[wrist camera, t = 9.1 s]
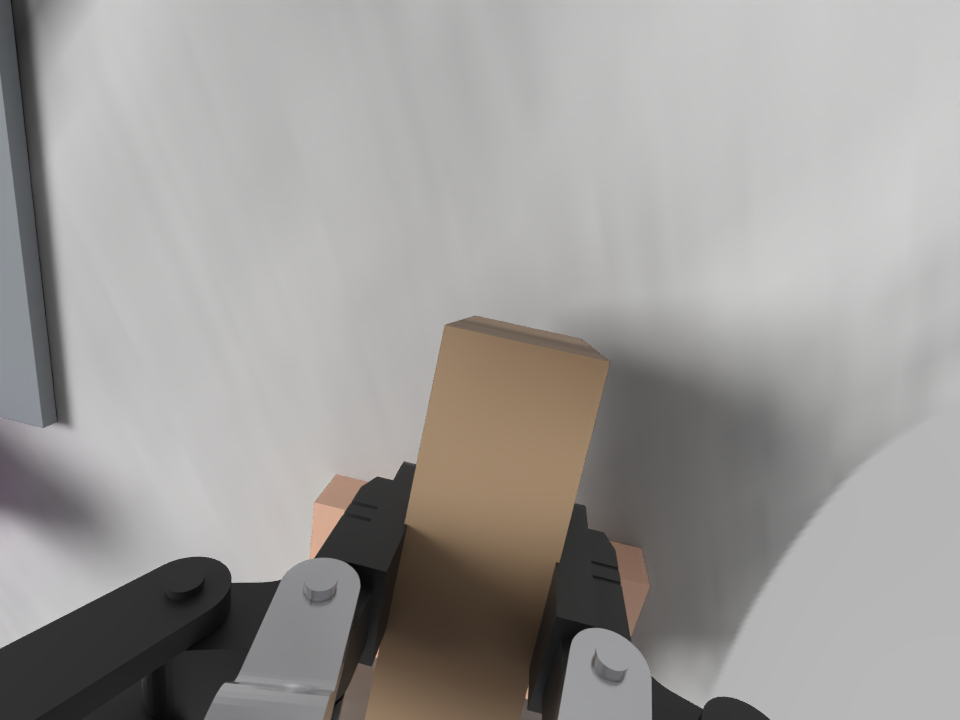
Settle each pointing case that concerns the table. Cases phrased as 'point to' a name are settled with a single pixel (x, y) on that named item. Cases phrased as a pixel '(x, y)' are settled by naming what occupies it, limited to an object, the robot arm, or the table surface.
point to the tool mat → (19, 259)
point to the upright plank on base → (483, 524)
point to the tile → (345, 489)
